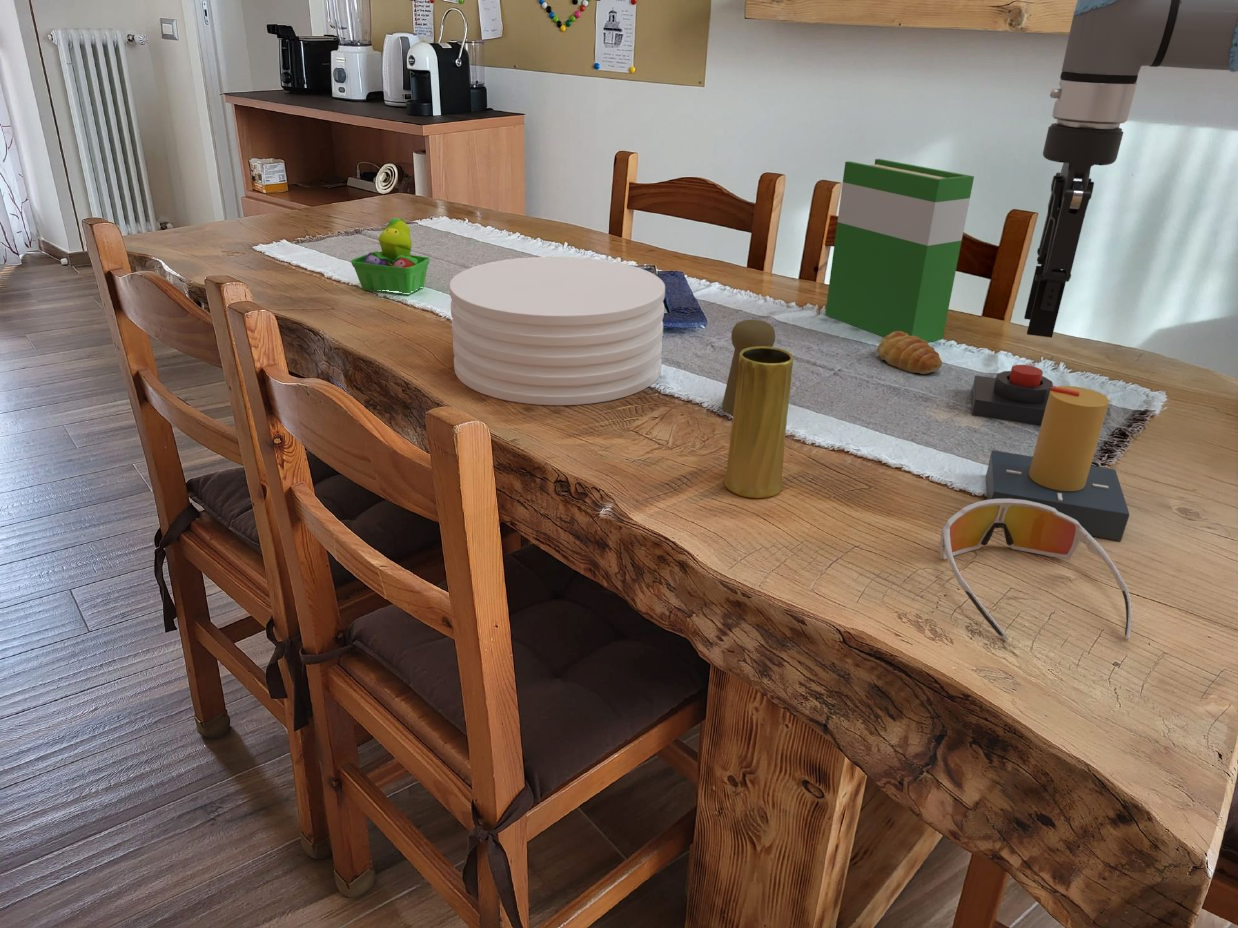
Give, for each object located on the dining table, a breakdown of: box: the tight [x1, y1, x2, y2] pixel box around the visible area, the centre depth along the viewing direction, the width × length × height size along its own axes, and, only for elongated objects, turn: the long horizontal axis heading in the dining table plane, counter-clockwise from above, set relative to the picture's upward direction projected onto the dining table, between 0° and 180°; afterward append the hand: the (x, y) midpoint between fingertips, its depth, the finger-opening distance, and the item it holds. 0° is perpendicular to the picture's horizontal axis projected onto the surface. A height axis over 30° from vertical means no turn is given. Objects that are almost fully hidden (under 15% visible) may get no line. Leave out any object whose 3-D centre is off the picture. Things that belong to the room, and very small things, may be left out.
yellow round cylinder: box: [1029, 385, 1110, 492], centre depth 89 cm, size 5×5×9 cm
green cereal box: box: [824, 158, 975, 344], centre depth 139 cm, size 18×7×24 cm, turn 33°
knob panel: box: [985, 449, 1130, 542], centre depth 92 cm, size 12×10×3 cm
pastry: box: [876, 331, 943, 375], centre depth 128 cm, size 9×7×4 cm
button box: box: [971, 370, 1057, 427], centre depth 114 cm, size 11×9×4 cm
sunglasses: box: [939, 499, 1133, 641], centre depth 78 cm, size 14×15×5 cm
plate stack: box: [449, 256, 666, 406], centre depth 122 cm, size 28×28×12 cm
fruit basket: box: [350, 217, 431, 296], centre depth 153 cm, size 11×9×11 cm
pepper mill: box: [721, 319, 776, 416], centre depth 111 cm, size 6×6×11 cm
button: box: [1009, 364, 1044, 386], centre depth 113 cm, size 4×4×2 cm
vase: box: [723, 346, 795, 499], centre depth 91 cm, size 6×6×14 cm
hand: (1037, 326), depth 110 cm, fingers open, 6 cm apart
